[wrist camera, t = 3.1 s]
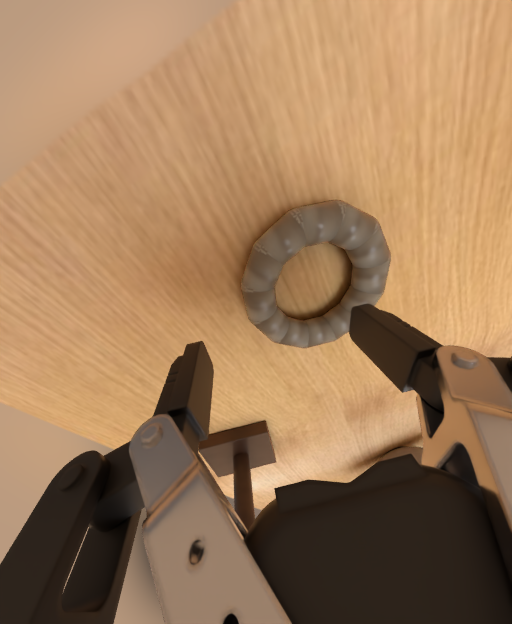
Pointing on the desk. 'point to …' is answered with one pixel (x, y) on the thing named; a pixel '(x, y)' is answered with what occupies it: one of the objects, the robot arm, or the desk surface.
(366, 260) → the grey bumpy ring
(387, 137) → the desk surface
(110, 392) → the desk surface
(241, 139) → the desk surface
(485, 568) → the robot arm
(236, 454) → the stand
